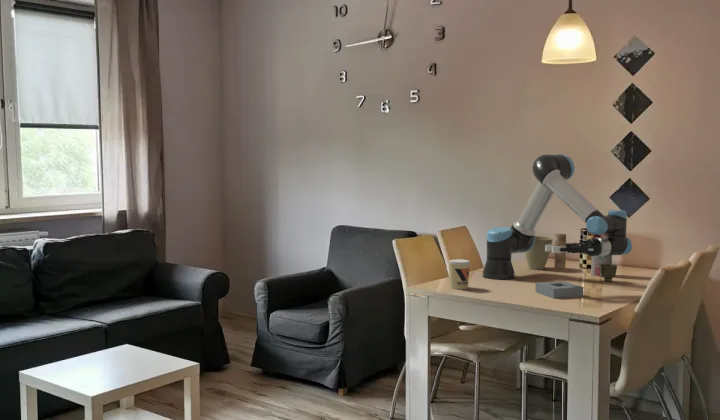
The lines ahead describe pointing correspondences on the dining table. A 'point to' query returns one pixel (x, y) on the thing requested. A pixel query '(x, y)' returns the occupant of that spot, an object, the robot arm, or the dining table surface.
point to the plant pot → (538, 253)
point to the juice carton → (599, 259)
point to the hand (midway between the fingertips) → (549, 248)
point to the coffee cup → (459, 273)
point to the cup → (608, 271)
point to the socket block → (559, 289)
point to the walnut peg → (560, 257)
